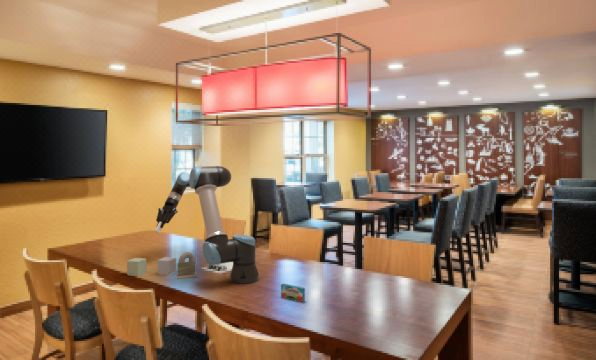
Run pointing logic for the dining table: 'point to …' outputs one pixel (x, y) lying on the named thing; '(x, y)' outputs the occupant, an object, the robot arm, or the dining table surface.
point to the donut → (186, 255)
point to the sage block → (136, 267)
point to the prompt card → (186, 270)
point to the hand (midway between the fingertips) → (157, 232)
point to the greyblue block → (166, 266)
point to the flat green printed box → (293, 292)
